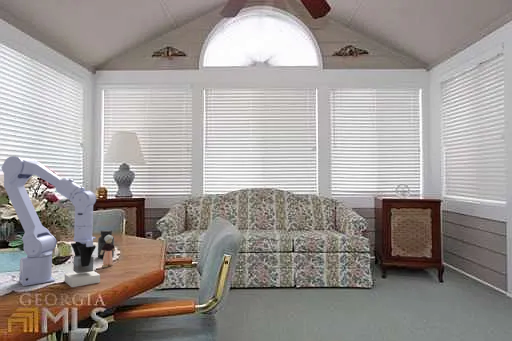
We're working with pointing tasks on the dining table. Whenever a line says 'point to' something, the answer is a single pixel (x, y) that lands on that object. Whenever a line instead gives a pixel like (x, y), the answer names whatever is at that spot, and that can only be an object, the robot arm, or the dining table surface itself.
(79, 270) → the slate block
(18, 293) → the dining table surface
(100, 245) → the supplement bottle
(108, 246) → the grandmother figurine
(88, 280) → the cream base block
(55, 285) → the dining table surface
